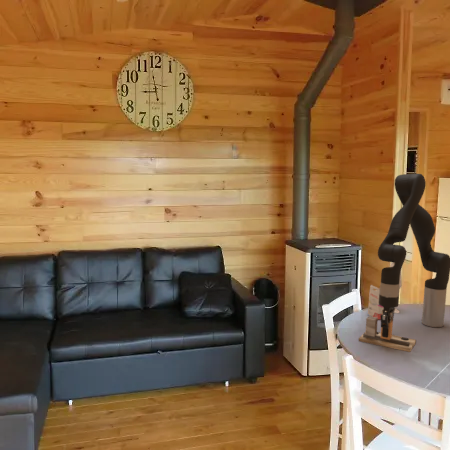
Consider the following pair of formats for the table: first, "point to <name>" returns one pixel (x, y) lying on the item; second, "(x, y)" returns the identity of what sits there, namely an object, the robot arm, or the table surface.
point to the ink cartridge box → (374, 303)
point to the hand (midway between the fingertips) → (386, 335)
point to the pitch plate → (375, 338)
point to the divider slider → (388, 331)
